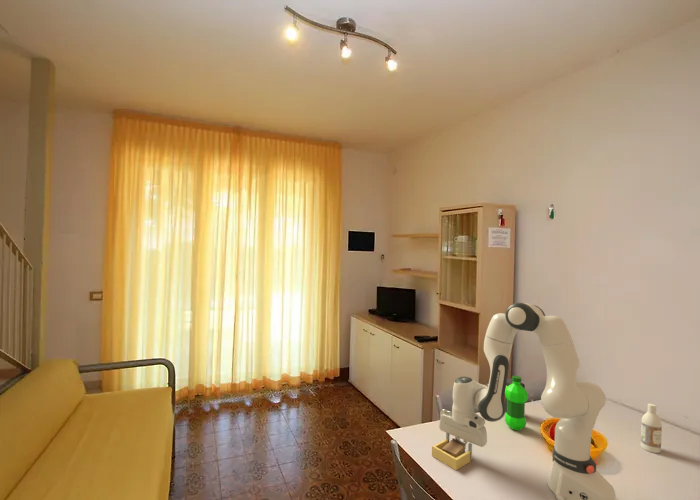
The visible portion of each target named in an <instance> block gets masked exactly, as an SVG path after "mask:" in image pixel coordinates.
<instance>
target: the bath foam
mask: <svg viewBox="0 0 700 500" xmlns="http://www.w3.org/2000/svg"><path fill="white" fill-rule="evenodd" d="M640 422H641V423H640V424H641V425H640V447H641V448H642V449H643V450H644V451H646V452H650V453H654V454H659V453H661V452H662V430H663V428H662V427H663V424H662V421H661V419H660V418H659V415H658V414H657V405H656V404H653V403H649V402H648V403H647V411H646V412H645V413H644V414H643V415H642V417H641V421H640Z"/></svg>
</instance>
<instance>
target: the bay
mask: <svg viewBox="0 0 700 500" xmlns="http://www.w3.org/2000/svg"><path fill="white" fill-rule="evenodd" d="M445 434H446V435H445V439H443V440H442V441H440V442H438V443H435V444H434V445H432V446H431V457H434V458H435V459H436V460H438V461H440V462H441V463H443V464H444V465H446V466H447V467H450V468H452V469H454V470H455V471H457V470H459V469H460V468H462V467H464V466H466V465H467V464H469V463H470V462H472V458H473V457H472V455H473V454H472V453H473V443H470V442H468V443H467V446H468V448H467V449H468V450H467V451H465V453H464V454H462V455H460V456H459V457H457V458H455V457H453V456H451V455H450V454H448V453H446V452H444V451H442V448H443V447H444V446H445V445H446V444H448V443H449V442H450V437H451V436H450V435H451V434H449V433H447V432H445Z"/></svg>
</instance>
